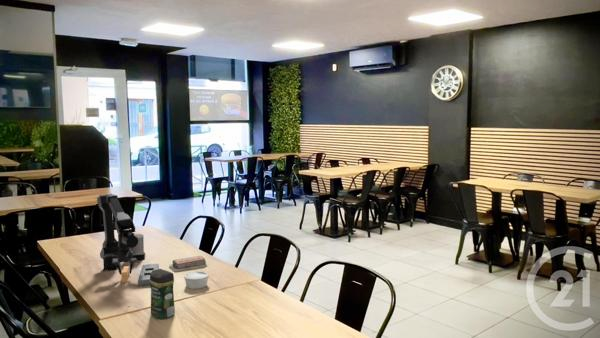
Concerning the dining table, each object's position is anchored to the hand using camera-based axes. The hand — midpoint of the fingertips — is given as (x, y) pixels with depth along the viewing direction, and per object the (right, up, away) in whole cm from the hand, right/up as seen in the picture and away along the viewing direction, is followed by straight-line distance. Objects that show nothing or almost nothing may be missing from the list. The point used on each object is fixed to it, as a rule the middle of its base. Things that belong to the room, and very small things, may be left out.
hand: (125, 274), depth 230 cm
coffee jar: (+31, -7, -41) cm, 52 cm away
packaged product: (+26, -1, +20) cm, 33 cm away
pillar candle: (-7, +1, +32) cm, 33 cm away
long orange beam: (0, -3, 0) cm, 2 cm away
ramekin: (+37, -4, -8) cm, 38 cm away
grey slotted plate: (+11, -2, +3) cm, 11 cm away
